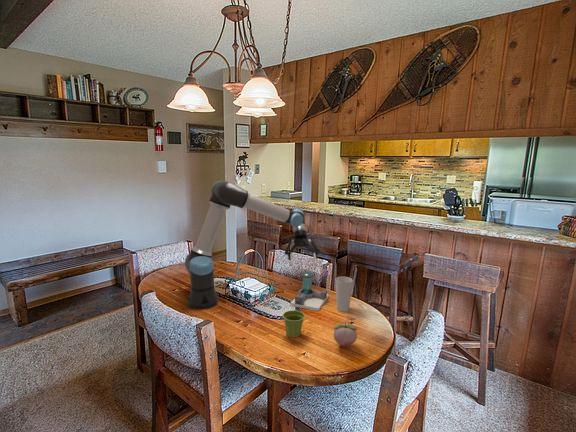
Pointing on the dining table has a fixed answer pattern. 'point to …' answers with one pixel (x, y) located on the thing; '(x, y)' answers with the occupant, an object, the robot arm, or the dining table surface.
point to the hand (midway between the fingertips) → (303, 264)
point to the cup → (343, 293)
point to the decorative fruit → (345, 334)
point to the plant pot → (293, 322)
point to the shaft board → (310, 300)
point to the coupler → (307, 282)
